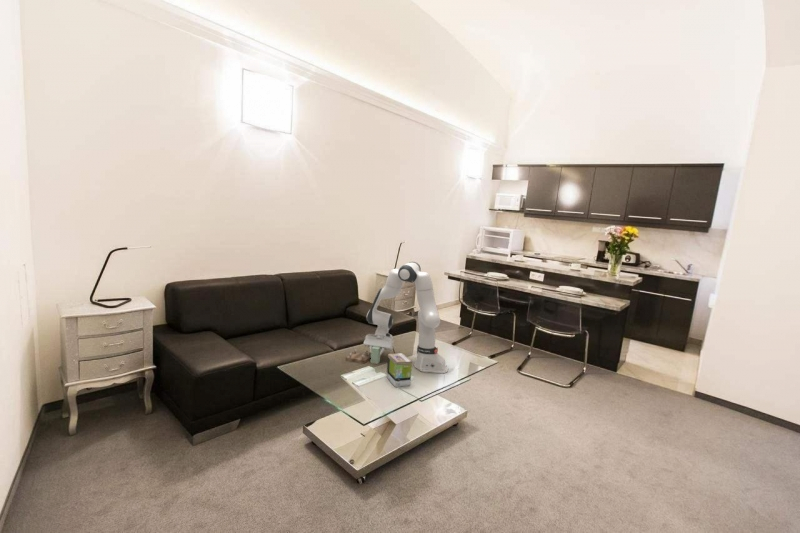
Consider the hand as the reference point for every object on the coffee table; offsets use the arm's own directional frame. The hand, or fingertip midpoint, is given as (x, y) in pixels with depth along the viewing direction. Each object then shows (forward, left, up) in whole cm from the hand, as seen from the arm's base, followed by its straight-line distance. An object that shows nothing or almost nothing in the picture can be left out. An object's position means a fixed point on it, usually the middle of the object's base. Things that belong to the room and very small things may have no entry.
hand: (375, 353), depth 243 cm
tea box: (-23, +23, -6) cm, 33 cm away
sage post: (0, -1, -6) cm, 6 cm away
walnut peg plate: (+12, -1, -6) cm, 13 cm away
